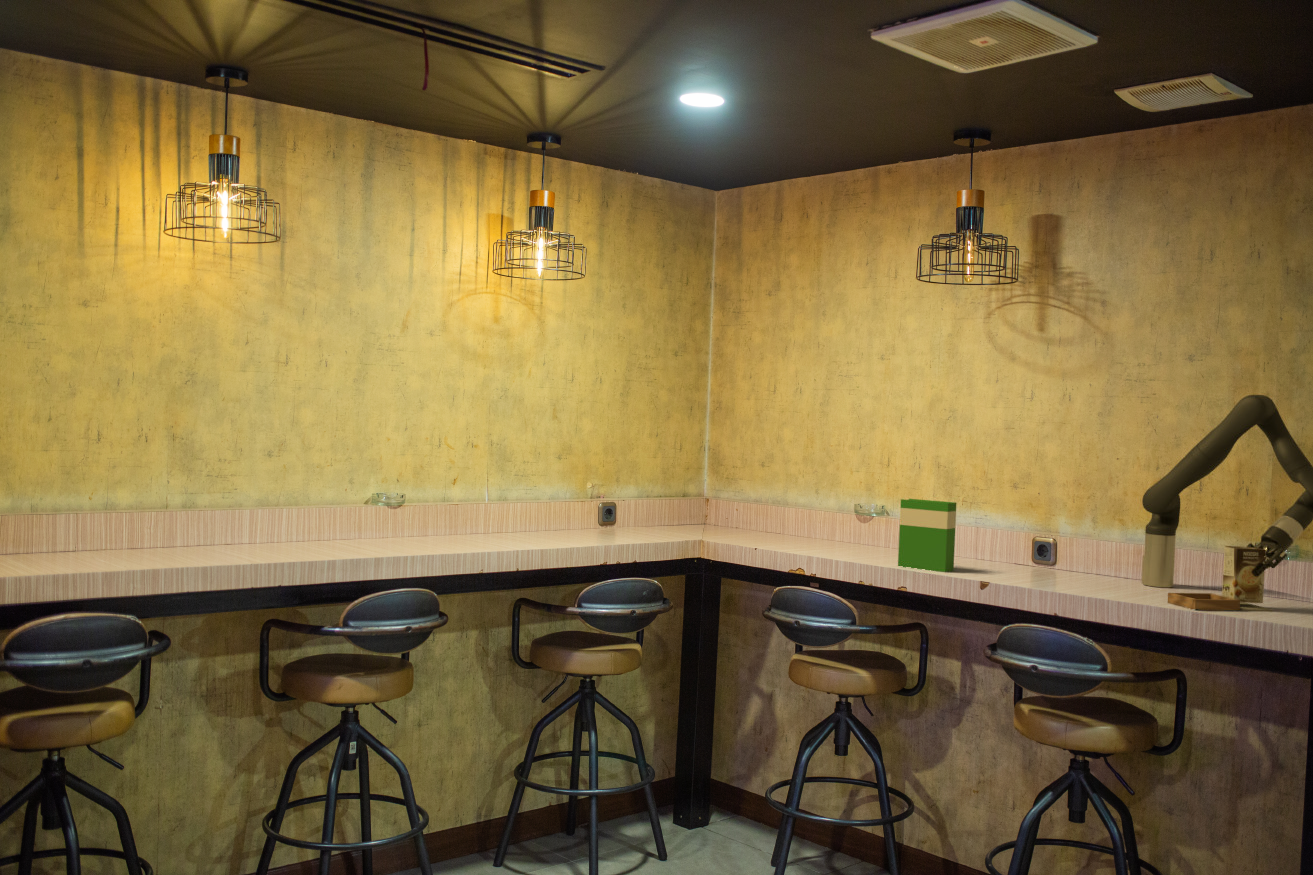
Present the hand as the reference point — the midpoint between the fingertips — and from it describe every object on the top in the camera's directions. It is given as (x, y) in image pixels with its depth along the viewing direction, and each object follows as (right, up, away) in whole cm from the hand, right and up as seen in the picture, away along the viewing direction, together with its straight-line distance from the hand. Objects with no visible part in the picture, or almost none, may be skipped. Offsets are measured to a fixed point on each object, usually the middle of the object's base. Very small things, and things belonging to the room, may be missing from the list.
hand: (1245, 572), depth 319 cm
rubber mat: (-1, -10, 0) cm, 10 cm away
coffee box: (-1, -9, 0) cm, 9 cm away
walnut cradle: (-14, -10, -2) cm, 17 cm away
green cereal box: (-80, -6, +61) cm, 101 cm away
